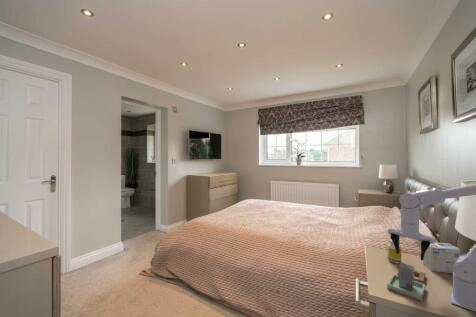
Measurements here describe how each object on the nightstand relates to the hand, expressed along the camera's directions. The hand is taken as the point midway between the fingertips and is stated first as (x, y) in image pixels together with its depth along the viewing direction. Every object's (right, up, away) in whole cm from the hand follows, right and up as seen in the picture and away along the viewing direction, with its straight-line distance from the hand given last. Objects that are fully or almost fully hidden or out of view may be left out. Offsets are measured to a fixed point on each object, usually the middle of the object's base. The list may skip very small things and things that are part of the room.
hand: (409, 255), depth 86 cm
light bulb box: (+22, -10, +10) cm, 26 cm away
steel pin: (-5, -10, -4) cm, 12 cm away
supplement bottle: (+6, -10, +17) cm, 21 cm away
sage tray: (-5, -11, -5) cm, 13 cm away
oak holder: (+4, -10, +4) cm, 12 cm away
